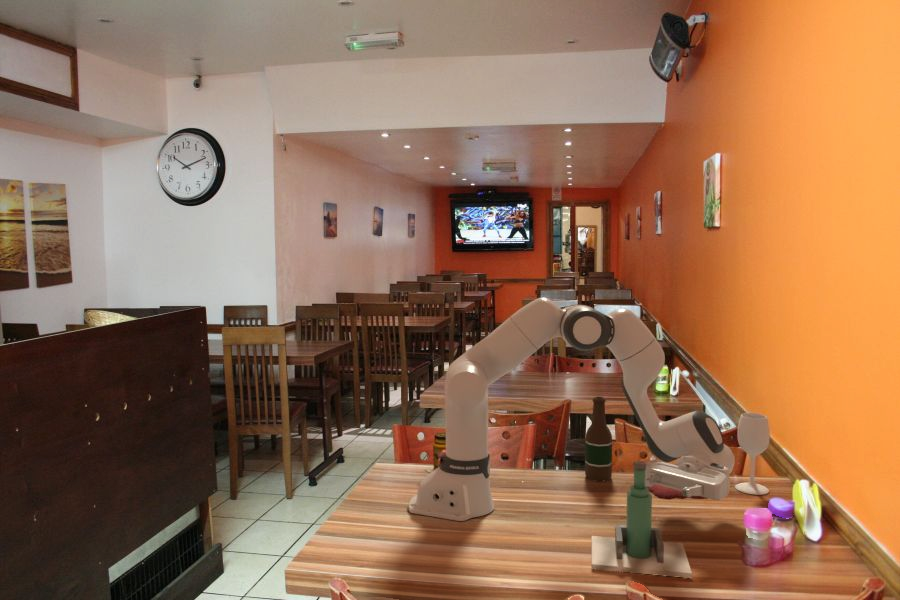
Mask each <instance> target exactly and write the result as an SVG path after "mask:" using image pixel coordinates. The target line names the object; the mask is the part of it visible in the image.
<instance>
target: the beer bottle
mask: <svg viewBox="0 0 900 600" xmlns="http://www.w3.org/2000/svg"><path fill="white" fill-rule="evenodd" d="M592 402H593V406H592V420H591V424H590V426H589V427H588V429H587V430H586V433H585V438H584V441H585V442H584V449H585V451H584V452H585V453H584V463H585V464H584V472H585V473H584V474H585V475H584V476H585V477H586V478H587V479H588V480H589V479H590V480H589V481H593V480H596V481H595V482H598V481H599V482H604V481H603V480H608V481H609V480H610V479H612V474H613V435H612V432H611V430H610V428H609V427H608V425H607V420H606V405H605V404H606V402H607V400H606V398H604V396H603V397H602V396H595V397H592Z"/></svg>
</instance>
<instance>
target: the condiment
mask: <svg viewBox="0 0 900 600" xmlns="http://www.w3.org/2000/svg"><path fill="white" fill-rule="evenodd" d="M433 437H434V440H433V441H434V442H433V444H432V449H433V450H432V453H433V454H432V457H433V458H432V461H433V463H432V465H433V468H429V469H425V471H426V472H427V473H428V474H430V473H432V472H433V471H434V470H436V469H437V468H438V467H439V465H438V459H439V456H440V453H441V452H442V450H446V432H438V433H435V434H434V436H433Z"/></svg>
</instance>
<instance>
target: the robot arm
mask: <svg viewBox="0 0 900 600" xmlns="http://www.w3.org/2000/svg"><path fill="white" fill-rule="evenodd" d="M555 338H561V339H562V340H563V341H564V342H565V343H566V344H567V345H569V346H570V347H572V348H574V349H576V350H579V351H584V352H585V351H592V350H595V349H598V348H601V347H605V346H606V347H607V348H608V349H609V351H610V352H611V353H612V354H613V356H614V358H615V359H616V361H617V362H618V364H619V365H620V368H621V370H622V377H621V381H620V383H621V388H622V391H623V394H624V395H625V397H626V400H627V402H628V404H629V407H630V408H631V410H632V412H633V415H634V416H635V419H636V421H637V422H638V425H639V427H640V429H641V431H642V433H643V436H644V440H645V443H646V445H647V448H648V450H649V452H650V453H651V455H652V456H653V457H654V458H656V459H658V460H653V461H648V462H645V463H646V464H647V465H646V469H645V486H646V487H648V486H649V487H651V486H653V485H654V484H657V485H661V486H664V487H668V488H672V489H675V490H679V491H683V493H682V495H683V496H686V497H691V496H701V497H705V499H710V500H713V501H722V500H723V499H724V498H726V497H727V496H728V495H729V494H730V493H729V492H730V478H731V477H730V474H731V473H732V472H733V469H734V467H735V462H736V461H735V455H734V453H733V451H732V449H731V448H730V447H729V446H728V445H726V444H725V442H724V441H725V440H724V436H723V432H722V430H721V427H720V426H719V424H718V423H717V421H716V419H714V418H713V417H712V416H711V415H710V414H708V413H706V412H704V411H702V410H696V409H695V410H694V411H691V412H688V413H685V414H682V415H680V416H678V417H675V418H672V419H669V420H667V421H664V420H661V419H660V418H659V416H658V414H657V412H656V411H655V409H654V406H653V404H652V402H651V399H650V398H649V396H648V387H650V386H651V385H652V383H653V382H654V381H656V379H657V378H658V377H659V375H660V374H661V373H662V371H663V369H664V366H665V362H666V357H665V355H666V354H665V352H664V350H663V347H662V345H661V344H660V343H659V341H658V340H657V339H656V337H655V335H654V334H653V333H652V332H651V330H650V329H649V327H648V326H647V325H646V324H645V323H644V322H643V320H642V319H641V318H639V316H637V314H636V313H635V312H634V311H632V310H631V309H628V308H617V309H615V310H612V311H611V312H609V313H608V314H604V313H602V312H601V311H599V310H597V309H594V308H593V307H591V306H589V305H586V304H571V305H567V306H566V305H565V306H562V307H559V306H558V304H556V303H555V302H554V301H553V300H552V299H549V298H547V297H538V298H536V299H534V300H532V301H530V302H528V304H527V303H526V305H524V306H522V307H521V308H520V309H518V310H516V311H515V312H514V313H513V314H512V315H510V317H508V318H507V319H506V320H504V321H503V322H502V323H501V324H500V325H498V326H497V327H496V328H495V329H494V330H492V332H491V333H489V334H488V335H486V336H485V337H484V338H483V339H481V340H480V341H478V342H477V343H475V344H474V345H473V346H472V347H470V348H469V349H468V350H466V351H464V353H463V354H461V355H460V356H459V357H457V358H456V359H455V360H454V361H453V362H451V363H450V365H449V366H448V368H447V371H446V374H445V380H444V413H445V415H444V416H445V433H446V450H442V452H441V453H440V456H439V459H438V465H439V467H438V468H437V469H436V470H434V471H433V472H432V473H428V474H427V475H426V476H425V477H424V478H423V479H422V480H421V481H420V484H419V485H418V489H417V493H416V494H415V495H413V496H412V498H410V500H409V502H408V511H409V512H410V513H411V514H416V515H422V516H427V517H434V518H440V519H444V520H451V521H457V522H464V521H467V520H470V519H472V518H477V517H482V516H486V515H488V514H490V513H491V512H493V510H494V509H495V503H494V500H493V496H492V490H491V484H490V475H491V458H490V453H489V387H490V386H491V385H492V384H494V383H495V382H496V381H498V380H499V379H501V378H502V377H503V376H505V375H507V374H509V373H510V372H512V371H515V370H516V369H517V368H518V367H519V366H520V365H521V364H522V363H524V362H525V361H526V360H527V359H528V358H530V357H531V356H532V355H533V354H535V352H537V351H538V350H539V349H541V348H542V346H544V344H546V343H547V342H549V341H551V340H552V339H553V340H554V339H555ZM673 461H676V462H675V464H674V463H671V462H673Z"/></svg>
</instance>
